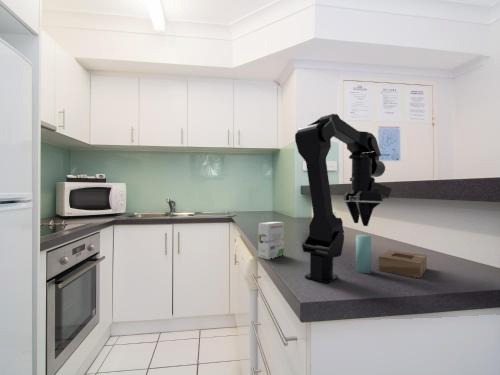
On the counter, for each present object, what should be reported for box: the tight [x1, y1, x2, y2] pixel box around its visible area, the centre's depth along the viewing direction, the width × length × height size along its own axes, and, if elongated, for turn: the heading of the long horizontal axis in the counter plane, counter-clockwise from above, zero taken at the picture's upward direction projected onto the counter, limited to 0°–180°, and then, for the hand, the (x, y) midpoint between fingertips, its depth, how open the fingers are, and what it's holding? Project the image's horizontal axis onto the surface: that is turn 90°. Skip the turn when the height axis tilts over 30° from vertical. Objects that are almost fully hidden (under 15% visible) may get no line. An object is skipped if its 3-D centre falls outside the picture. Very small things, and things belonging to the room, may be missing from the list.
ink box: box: [257, 221, 285, 260], centre depth 88 cm, size 8×5×12 cm, turn 135°
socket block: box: [378, 249, 428, 278], centre depth 74 cm, size 12×10×4 cm
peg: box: [355, 234, 372, 274], centre depth 72 cm, size 4×4×10 cm
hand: (360, 224), depth 78 cm, fingers open, 9 cm apart
